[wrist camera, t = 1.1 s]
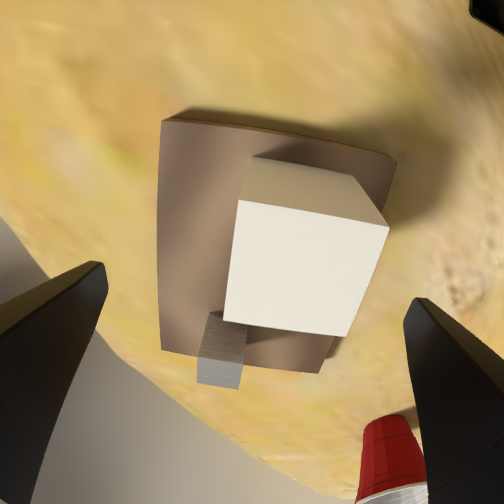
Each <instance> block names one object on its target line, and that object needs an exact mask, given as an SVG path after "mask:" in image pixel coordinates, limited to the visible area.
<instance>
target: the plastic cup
mask: <svg viewBox="0 0 504 504" xmlns="http://www.w3.org/2000/svg"><path fill="white" fill-rule="evenodd" d="M428 495H429V494H428V491H427V480H426V471H425V462H424V456H423V453H422V451H421V449H420V447H419V444H418V442H417V440H416V438H415V437H414V435H413V433H412V431H411V428H410V426H409V424H408V422H407V421H406V419H405V418H404V417H403V416H400V415H390V416H385V417H382V418H379V419H377V420H374V421H372V422H371V423H370V424H368V425H367V426H366V427H365V429H364V433H363V451H362V456H361V470H360V481H359V488H358V493H357V496H356V501H355V504H423V503H425V502H427V501H428Z"/></svg>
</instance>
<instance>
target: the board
mask: <svg viewBox="0 0 504 504" xmlns="http://www.w3.org/2000/svg"><path fill="white" fill-rule="evenodd" d="M252 156H253V157H259V158H265V159H271V160H277V161H283V162H289V163H294V164H300V165H305V166H310V167H315V168H320V169H325V170H330V171H335V172H339V173H344V174H348V175H353V176H354V178H355V179H356V180H357V182H358V183H359V184H360V186H361V187H362V188H363V190H364V191H365V192H366V194H367V195H368V197H369V198H370V199H371V201H372V202H373V204H374V205H375V206H376V208H377V209H378V211H379V212H380V214H382V211H383V208H384V204H385V201H386V198H387V195H388V191H389V188H390V185H391V181H392V178H393V174H394V171H395V167H396V164H397V161H396V160H394V159H393V158H392V157H390V156H388V155H385V154H381V153H377V152H373V151H370V150H366V149H362V148H358V147H354V146H349V145H345V144H341V143H336V142H332V141H327V140H323V139H318V138H313V137H308V136H303V135H298V134H293V133H287V132H281V131H276V130H270V129H263V128H257V127H250V126H243V125H236V124H229V123H220V122H212V121H203V120H193V119H182V118H167V119H164V120H162V121H161V134H160V150H159V169H158V197H157V276H158V304H159V323H160V339H161V350H165V351H170V352H174V353H179V354H184V355H189V356H195V357H198V353H199V350H200V346H201V342H202V338H203V334H204V330H205V326H206V323H207V319H208V315H209V312H210V313H216V314H222V315H224V307H225V299H226V291H227V283H228V275H229V268H230V260H231V252H232V245H233V237H234V230H235V222H236V215H237V208H238V200H239V197H240V193H241V190H242V187H243V184H244V180H245V177H246V174H247V170H248V167H249V164H250V161H251V158H252ZM334 338H335V336H333V335H324V334H315V333H307V332H299V331H291V330H284V329H276V328H269V327H262V326H256V325H249V324H248V329H247V337H246V346H245V354H244V363H243V365H249V366H256V367H263V368H271V369H279V370H287V371H296V372H306V373H317V374H318V373H319V371H320V369H321V366H322V364H323V362H324V360H325V358H326V356H327V353H328V351H329V349H330V347H331V345H332V342H333V340H334Z"/></svg>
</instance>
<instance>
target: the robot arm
mask: <svg viewBox="0 0 504 504" xmlns="http://www.w3.org/2000/svg"><path fill="white" fill-rule="evenodd" d="M475 10H476V11H477V13H478V15H477V14H476V13H475ZM469 12H470V14H471V16H472V17H473V18H475V19H476V20H478V21H480V22H482V23H483V24H485V25H487V26H488V27H490V28H491V29H493V30H495V31H496V32H498V33H499V34H501V35H502V36H504V0H470V3H469ZM107 294H108V281H107V276H106V270H105V266H104V264H103V263H102V262H98V261H88V262H86V263H84V264H82V265H80V266H78V267H75V268H73V269H71V270H69V271H67V272H65V273H63V274H61V275H59V276H57V277H54V278H52V279H50V280H48V281H47V282H45V283H42V284H40V285H38V286H36V287H34V288H32V289H30V290H28V291H26V292H24V293H22V294H20V295H19V296H16V297H14V298H12V299H10V300H9V301H7V302H5V303H3V304H1V305H0V499H1V500H3V501H4V502H6V503H8V504H30V502H31V499H32V495H33V491H34V488H35V484H36V481H37V478H38V474H39V471H40V468H41V465H42V462H43V458H44V454H45V452H46V449H47V446H48V443H49V440H50V437H51V434H52V432H53V429H54V426H55V423H56V421H57V418H58V415H59V413H60V410H61V408H62V405H63V402H64V400H65V397H66V395H67V392H68V390H69V388H70V385H71V383H72V380H73V378H74V376H75V373H76V371H77V369H78V366H79V364H80V362H81V360H82V357H83V355H84V353H85V351H86V349H87V346H88V344H89V342H90V340H91V337H92V335H93V333H94V330H95V327H96V324H97V321H98V319H99V316H100V313H101V310H102V307H103V305H104V302H105V299H106V296H107ZM403 329H404V336H405V343H406V351H407V360H408V367H409V373H410V378H411V383H412V388H413V393H414V398H415V403H416V409H417V414H418V420H419V426H420V433H421V439H422V446H423V454H424V462H425V471H426V480H427V491H428V494H429V495H428V504H504V359H502V358H501V357H500V356H499V355H498V354H496V353H495V352H494V351H493V350H492V349H490V348H489V347H488V346H487V345H486V344H484V343H483V342H482V341H481V340H480V339H478V338H477V337H476V336H475V335H473V334H472V333H471V332H470V331H468V330H467V329H466V328H465V327H463V326H462V325H461V324H460V323H458V322H457V321H456V320H455V319H453V318H452V317H451V316H450V315H448V314H447V313H446V312H444V311H443V310H442V309H441V308H439V307H438V306H437V305H435V304H434V303H433V302H431V301H430V300H429V299H427V298H419V297H416V298H414V299H413V300H412V302H411V305H410V307H409V309H408V311H407V313H406V316H405V318H404V321H403Z"/></svg>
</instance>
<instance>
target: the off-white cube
mask: <svg viewBox="0 0 504 504" xmlns="http://www.w3.org/2000/svg"><path fill="white" fill-rule="evenodd" d="M389 229H390V227H389V225H388V224H387V222H386V221H385V219H384V218H383V217H382V215H381V214H380V212H379V211H378V209H377V208H376V206H375V205H374V204H373V202H372V201H371V199H370V198H369V197H368V195H367V194H366V192H365V191H364V190H363V188H362V187H361V186H360V184H359V183H358V182H357V180H356V179H355V178H354V176H353V175H348V174H344V173H339V172H335V171H330V170H325V169H320V168H315V167H310V166H305V165H300V164H294V163H289V162H283V161H277V160H271V159H265V158H259V157H253V156H252V158H251V161H250V164H249V167H248V170H247V174H246V177H245V180H244V184H243V187H242V190H241V193H240V197H239V200H238V208H237V215H236V222H235V230H234V237H233V245H232V252H231V260H230V268H229V275H228V283H227V291H226V299H225V307H224V316H223V320H224V321H230V322H236V323H242V324H249V325H256V326H262V327H269V328H276V329H284V330H291V331H299V332H307V333H315V334H324V335H333V336H342V337H346V335H347V333H348V331H349V329H350V326H351V324H352V322H353V320H354V317H355V315H356V313H357V311H358V308H359V306H360V304H361V301H362V299H363V297H364V294H365V292H366V289H367V287H368V284H369V282H370V280H371V277H372V275H373V272H374V269H375V267H376V264H377V262H378V259H379V256H380V254H381V251H382V248H383V246H384V243H385V240H386V237H387V235H388V232H389Z"/></svg>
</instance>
